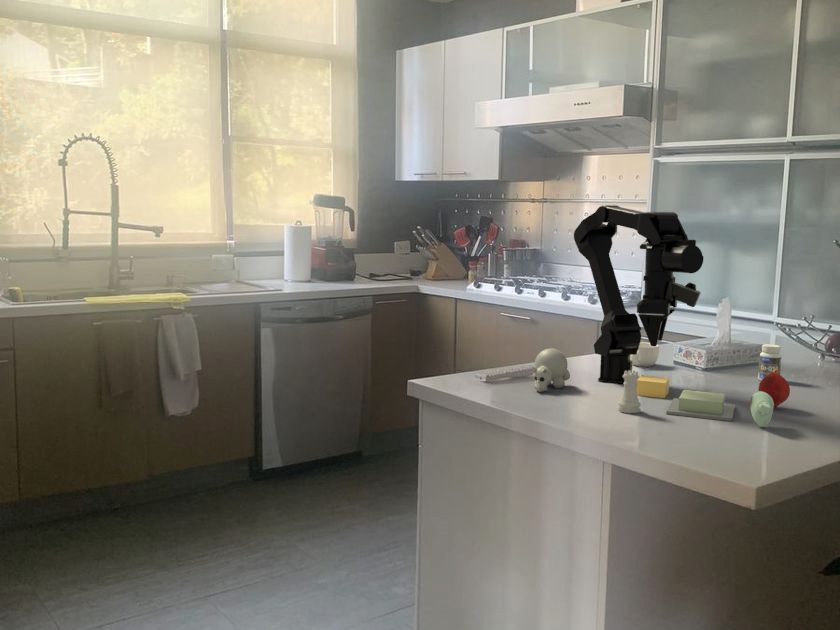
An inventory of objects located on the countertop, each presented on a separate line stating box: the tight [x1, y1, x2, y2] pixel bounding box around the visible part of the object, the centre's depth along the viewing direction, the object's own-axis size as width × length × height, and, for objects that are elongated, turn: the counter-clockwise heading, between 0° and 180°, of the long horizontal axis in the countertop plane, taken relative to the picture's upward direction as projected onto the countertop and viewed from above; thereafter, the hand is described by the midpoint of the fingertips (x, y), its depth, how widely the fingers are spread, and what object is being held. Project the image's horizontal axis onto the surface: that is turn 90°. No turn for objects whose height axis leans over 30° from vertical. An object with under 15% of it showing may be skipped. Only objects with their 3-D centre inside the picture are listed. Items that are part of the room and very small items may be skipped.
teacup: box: [630, 341, 660, 368], centre depth 206 cm, size 10×8×5 cm
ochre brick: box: [637, 374, 671, 399], centre depth 175 cm, size 6×6×4 cm
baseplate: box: [666, 389, 736, 422], centre depth 160 cm, size 12×12×3 cm
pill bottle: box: [757, 343, 782, 382], centre depth 190 cm, size 5×5×8 cm
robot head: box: [749, 390, 775, 428], centre depth 149 cm, size 8×4×7 cm, turn 157°
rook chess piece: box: [617, 370, 642, 415], centre depth 159 cm, size 4×4×8 cm
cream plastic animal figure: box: [532, 347, 571, 393], centre depth 178 cm, size 7×12×8 cm, turn 144°
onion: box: [757, 369, 791, 409], centre depth 163 cm, size 6×6×8 cm
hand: (656, 343), depth 173 cm, fingers open, 9 cm apart
